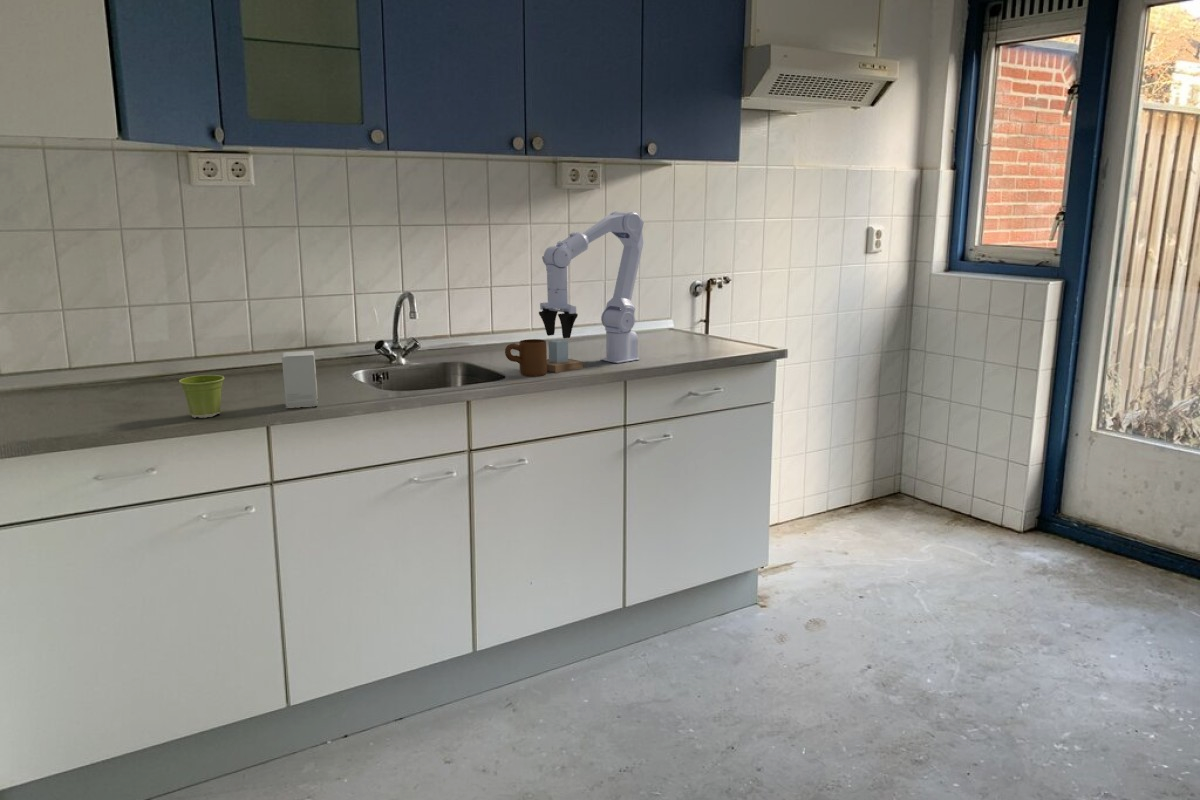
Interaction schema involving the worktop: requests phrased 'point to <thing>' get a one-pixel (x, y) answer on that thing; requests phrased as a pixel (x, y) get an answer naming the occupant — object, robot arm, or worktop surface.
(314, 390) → the supplement box
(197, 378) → the plant pot
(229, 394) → the worktop surface
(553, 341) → the block
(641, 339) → the worktop surface
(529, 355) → the mug
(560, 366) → the base
